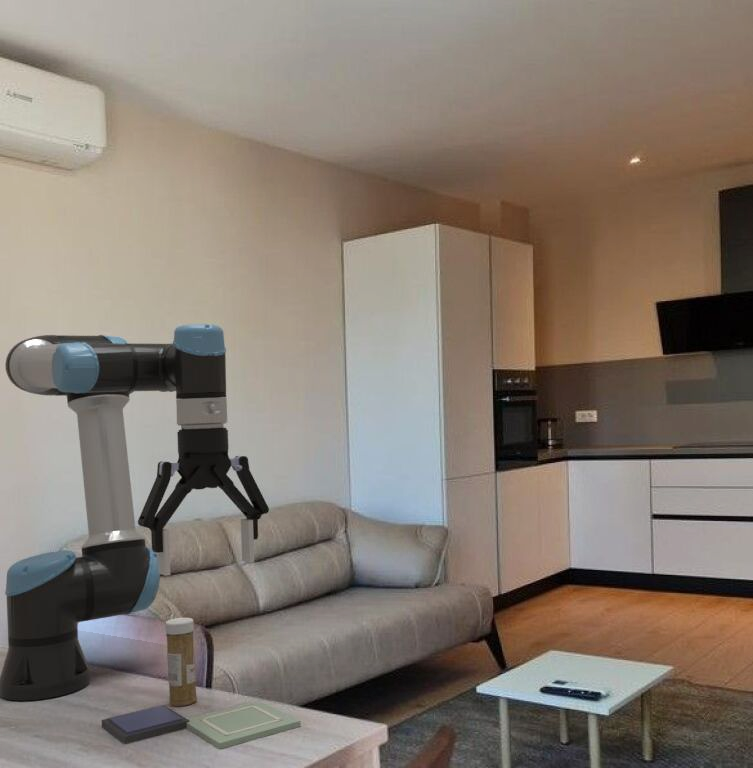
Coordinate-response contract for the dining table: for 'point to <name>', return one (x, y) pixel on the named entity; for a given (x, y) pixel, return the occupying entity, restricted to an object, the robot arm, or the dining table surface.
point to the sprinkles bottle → (181, 661)
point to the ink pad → (144, 724)
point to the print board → (241, 724)
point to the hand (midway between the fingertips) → (207, 568)
